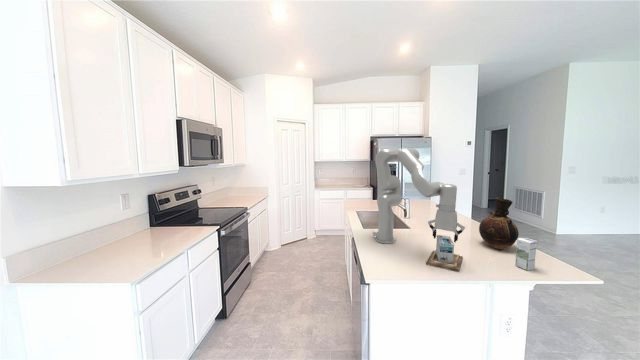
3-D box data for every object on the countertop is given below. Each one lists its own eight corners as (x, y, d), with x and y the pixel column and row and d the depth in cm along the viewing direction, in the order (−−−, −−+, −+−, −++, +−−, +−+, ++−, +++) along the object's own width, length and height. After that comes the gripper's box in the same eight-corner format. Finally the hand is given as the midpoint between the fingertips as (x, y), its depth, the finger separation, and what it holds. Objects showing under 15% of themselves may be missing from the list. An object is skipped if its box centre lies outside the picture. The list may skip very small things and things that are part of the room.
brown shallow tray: (426, 264, 128) (426, 260, 127) (432, 252, 142) (432, 248, 142) (459, 272, 119) (459, 267, 119) (462, 258, 134) (462, 254, 134)
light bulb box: (453, 264, 125) (454, 244, 123) (438, 262, 127) (440, 243, 124) (448, 253, 135) (450, 235, 133) (435, 252, 137) (436, 234, 135)
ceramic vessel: (471, 241, 159) (473, 195, 156) (496, 239, 161) (499, 194, 157) (496, 254, 138) (500, 202, 135) (525, 253, 140) (530, 201, 136)
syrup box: (535, 269, 121) (537, 240, 120) (527, 271, 119) (529, 242, 117) (522, 264, 127) (524, 236, 125) (514, 266, 124) (516, 238, 123)
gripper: (427, 207, 129) (425, 238, 132) (465, 212, 119) (462, 245, 122) (430, 204, 135) (428, 234, 138) (467, 208, 126) (464, 241, 128)
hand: (444, 239), depth 130 cm, fingers open, 9 cm apart
